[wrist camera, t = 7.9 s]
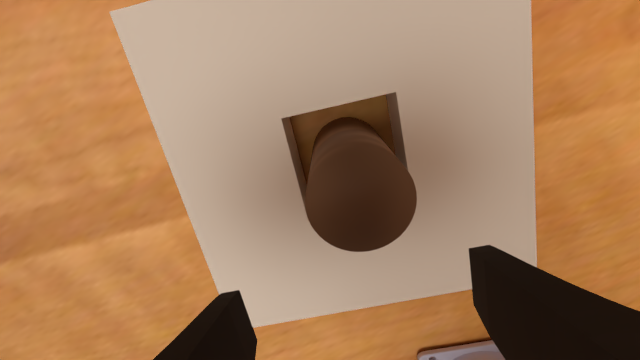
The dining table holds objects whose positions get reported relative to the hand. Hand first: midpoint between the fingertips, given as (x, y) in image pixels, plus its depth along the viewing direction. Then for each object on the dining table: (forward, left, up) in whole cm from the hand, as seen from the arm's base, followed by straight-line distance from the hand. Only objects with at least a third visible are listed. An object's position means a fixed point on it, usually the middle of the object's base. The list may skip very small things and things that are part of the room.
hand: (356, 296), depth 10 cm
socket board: (-1, -2, -10) cm, 11 cm away
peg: (-1, -2, -10) cm, 11 cm away
